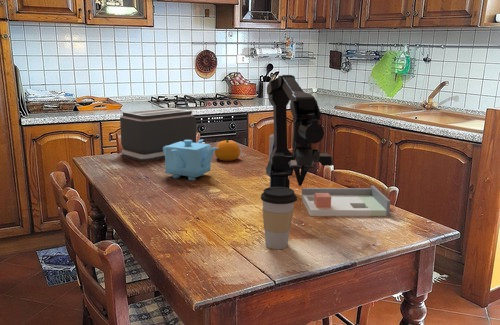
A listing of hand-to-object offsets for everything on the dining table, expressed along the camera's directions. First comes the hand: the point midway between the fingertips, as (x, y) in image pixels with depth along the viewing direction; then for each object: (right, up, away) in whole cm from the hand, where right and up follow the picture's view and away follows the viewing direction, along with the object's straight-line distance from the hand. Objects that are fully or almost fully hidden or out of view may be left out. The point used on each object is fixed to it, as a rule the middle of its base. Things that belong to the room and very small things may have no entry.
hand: (299, 185), depth 151 cm
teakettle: (-40, +2, +40) cm, 56 cm away
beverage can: (-5, +4, +54) cm, 54 cm away
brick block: (+7, -6, +2) cm, 10 cm away
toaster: (-59, +12, +80) cm, 100 cm away
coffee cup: (-9, -15, -24) cm, 30 cm away
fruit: (-26, +9, +70) cm, 75 cm away
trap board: (+15, -8, +6) cm, 18 cm away
